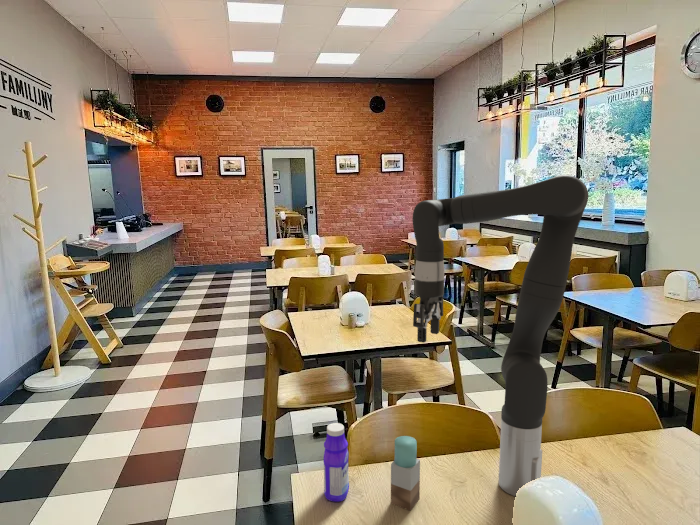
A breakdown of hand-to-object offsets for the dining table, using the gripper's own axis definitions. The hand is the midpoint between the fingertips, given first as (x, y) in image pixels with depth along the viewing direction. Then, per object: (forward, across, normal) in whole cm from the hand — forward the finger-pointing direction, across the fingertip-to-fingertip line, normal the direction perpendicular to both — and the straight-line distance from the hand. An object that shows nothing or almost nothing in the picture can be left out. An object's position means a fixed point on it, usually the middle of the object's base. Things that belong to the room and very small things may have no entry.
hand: (428, 337), depth 127 cm
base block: (+33, -22, -4) cm, 40 cm away
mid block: (+28, -22, -4) cm, 36 cm away
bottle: (+33, -28, +11) cm, 45 cm away
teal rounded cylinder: (+23, -22, -4) cm, 32 cm away
